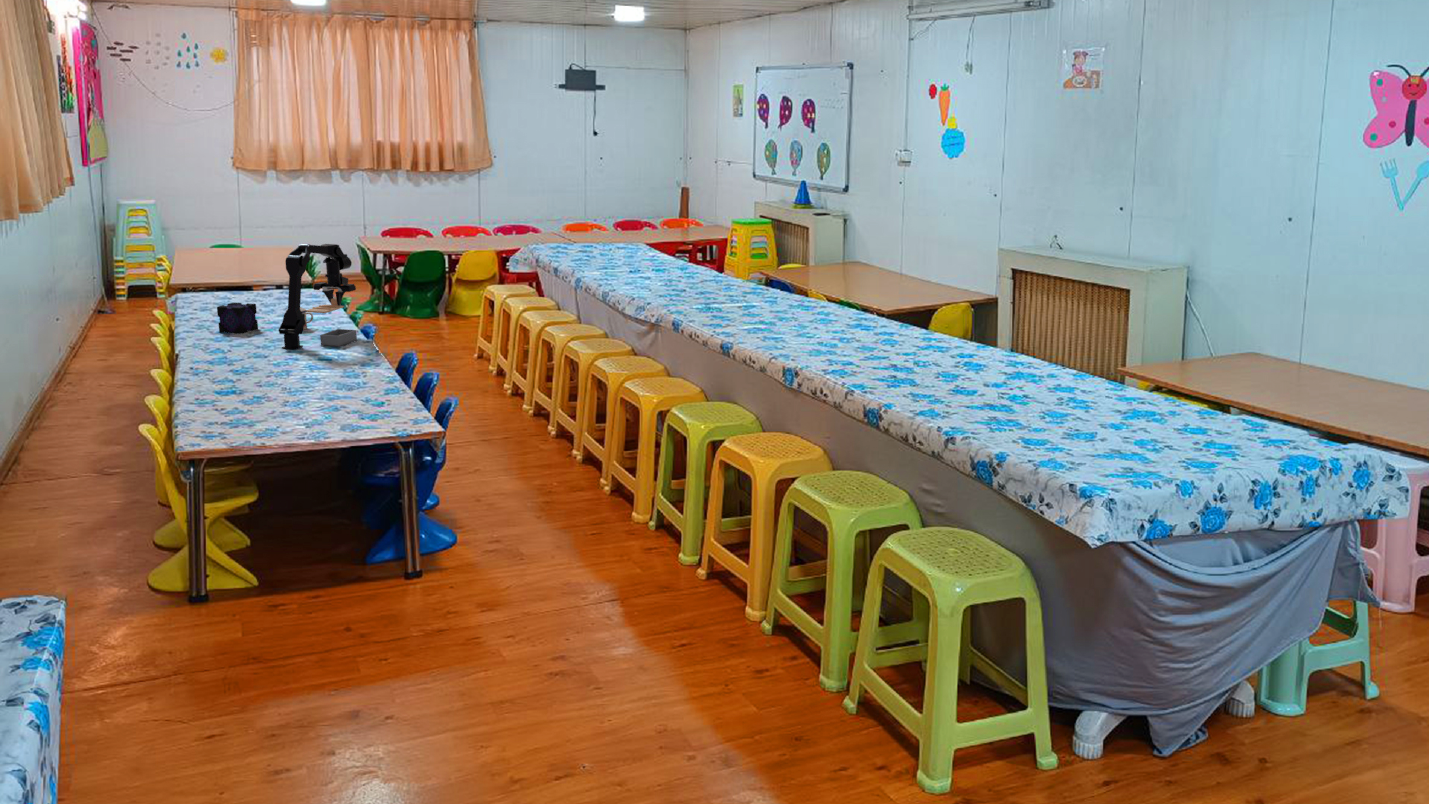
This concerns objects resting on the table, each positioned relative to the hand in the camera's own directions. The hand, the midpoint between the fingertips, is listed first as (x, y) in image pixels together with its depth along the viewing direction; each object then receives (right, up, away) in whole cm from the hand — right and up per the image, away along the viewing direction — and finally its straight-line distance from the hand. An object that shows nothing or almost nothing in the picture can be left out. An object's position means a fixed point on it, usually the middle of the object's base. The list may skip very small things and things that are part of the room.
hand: (335, 305), depth 525 cm
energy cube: (-48, -11, +8) cm, 50 cm away
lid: (-2, -2, -6) cm, 7 cm away
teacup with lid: (-21, -10, +14) cm, 28 cm away
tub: (+7, -18, -17) cm, 26 cm away
